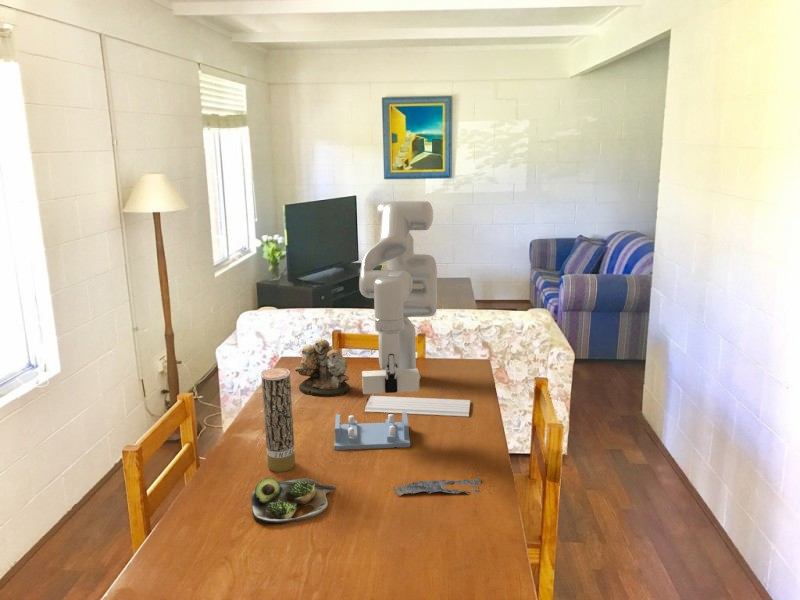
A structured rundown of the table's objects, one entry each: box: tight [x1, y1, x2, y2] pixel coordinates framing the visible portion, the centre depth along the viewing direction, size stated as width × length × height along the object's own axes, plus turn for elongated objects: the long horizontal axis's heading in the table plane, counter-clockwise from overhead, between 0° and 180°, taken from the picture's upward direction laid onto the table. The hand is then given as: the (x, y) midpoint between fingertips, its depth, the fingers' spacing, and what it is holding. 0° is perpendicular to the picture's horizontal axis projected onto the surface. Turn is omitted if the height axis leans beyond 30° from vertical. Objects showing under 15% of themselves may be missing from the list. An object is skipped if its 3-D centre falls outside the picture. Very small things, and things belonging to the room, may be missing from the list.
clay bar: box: [361, 368, 420, 395], centre depth 176 cm, size 15×4×5 cm, turn 96°
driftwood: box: [394, 476, 482, 497], centre depth 154 cm, size 21×7×2 cm, turn 91°
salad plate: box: [250, 477, 337, 526], centre depth 149 cm, size 19×18×5 cm
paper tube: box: [260, 367, 296, 473], centre depth 162 cm, size 7×7×25 cm
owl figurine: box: [294, 338, 351, 397], centre depth 212 cm, size 18×12×17 cm, turn 81°
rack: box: [333, 412, 411, 451], centre depth 179 cm, size 20×13×5 cm, turn 94°
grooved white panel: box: [363, 395, 471, 418], centre depth 198 cm, size 31×3×12 cm
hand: (390, 388), depth 177 cm, fingers closed on clay bar, 4 cm apart
